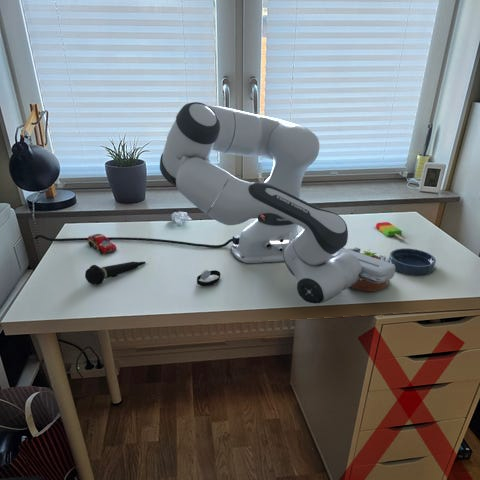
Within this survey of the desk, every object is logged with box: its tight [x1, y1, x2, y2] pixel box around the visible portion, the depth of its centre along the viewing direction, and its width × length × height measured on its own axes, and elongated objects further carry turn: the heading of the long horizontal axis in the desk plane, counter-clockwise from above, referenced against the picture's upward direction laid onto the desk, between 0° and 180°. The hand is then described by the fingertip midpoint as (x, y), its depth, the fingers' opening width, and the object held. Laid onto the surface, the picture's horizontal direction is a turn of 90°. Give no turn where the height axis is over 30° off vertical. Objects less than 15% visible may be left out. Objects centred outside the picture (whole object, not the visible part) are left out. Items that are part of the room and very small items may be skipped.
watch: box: [196, 269, 221, 287], centre depth 126 cm, size 8×5×4 cm, turn 131°
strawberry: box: [360, 249, 379, 280], centre depth 125 cm, size 6×8×10 cm
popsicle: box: [375, 221, 405, 241], centre depth 158 cm, size 6×15×2 cm, turn 15°
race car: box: [87, 233, 117, 256], centre depth 145 cm, size 13×5×4 cm, turn 39°
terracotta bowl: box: [349, 278, 390, 292], centre depth 127 cm, size 13×13×3 cm
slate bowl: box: [388, 247, 437, 276], centre depth 136 cm, size 13×13×3 cm
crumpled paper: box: [170, 211, 193, 226], centre depth 166 cm, size 8×4×7 cm
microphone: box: [84, 261, 146, 286], centre depth 129 cm, size 6×6×20 cm
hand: (370, 254), depth 124 cm, fingers open, 6 cm apart
